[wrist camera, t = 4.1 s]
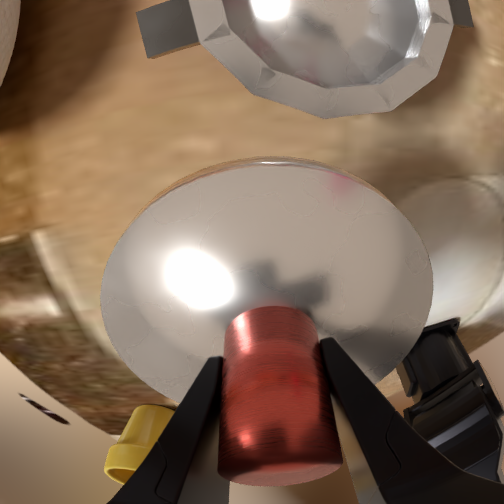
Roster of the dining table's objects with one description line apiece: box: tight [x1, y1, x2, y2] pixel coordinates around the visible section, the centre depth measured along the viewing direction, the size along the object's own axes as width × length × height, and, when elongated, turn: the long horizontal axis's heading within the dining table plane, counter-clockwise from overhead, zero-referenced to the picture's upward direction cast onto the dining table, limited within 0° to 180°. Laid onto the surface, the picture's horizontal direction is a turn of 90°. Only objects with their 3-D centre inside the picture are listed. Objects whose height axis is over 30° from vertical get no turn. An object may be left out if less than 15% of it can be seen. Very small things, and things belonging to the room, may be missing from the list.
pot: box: [136, 0, 474, 119], centre depth 11 cm, size 16×11×6 cm
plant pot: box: [104, 405, 175, 485], centre depth 31 cm, size 10×10×10 cm
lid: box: [100, 157, 433, 486], centre depth 9 cm, size 11×11×6 cm
